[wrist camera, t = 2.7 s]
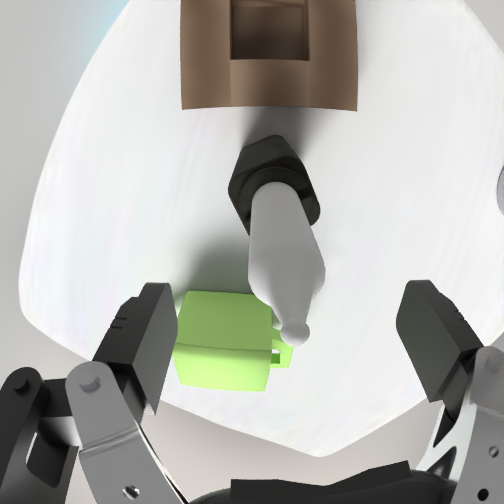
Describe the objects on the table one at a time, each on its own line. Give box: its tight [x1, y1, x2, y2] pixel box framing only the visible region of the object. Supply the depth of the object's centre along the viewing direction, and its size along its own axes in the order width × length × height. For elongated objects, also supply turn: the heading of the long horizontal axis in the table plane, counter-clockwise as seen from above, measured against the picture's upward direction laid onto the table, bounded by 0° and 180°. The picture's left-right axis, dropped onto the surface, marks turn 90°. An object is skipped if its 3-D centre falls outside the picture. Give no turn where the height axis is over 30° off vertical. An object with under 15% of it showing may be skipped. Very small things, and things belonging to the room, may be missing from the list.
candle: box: [228, 135, 325, 347], centre depth 19 cm, size 5×5×25 cm
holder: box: [180, 0, 358, 111], centre depth 22 cm, size 15×15×5 cm
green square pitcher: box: [172, 291, 294, 391], centre depth 36 cm, size 18×10×10 cm, turn 87°
